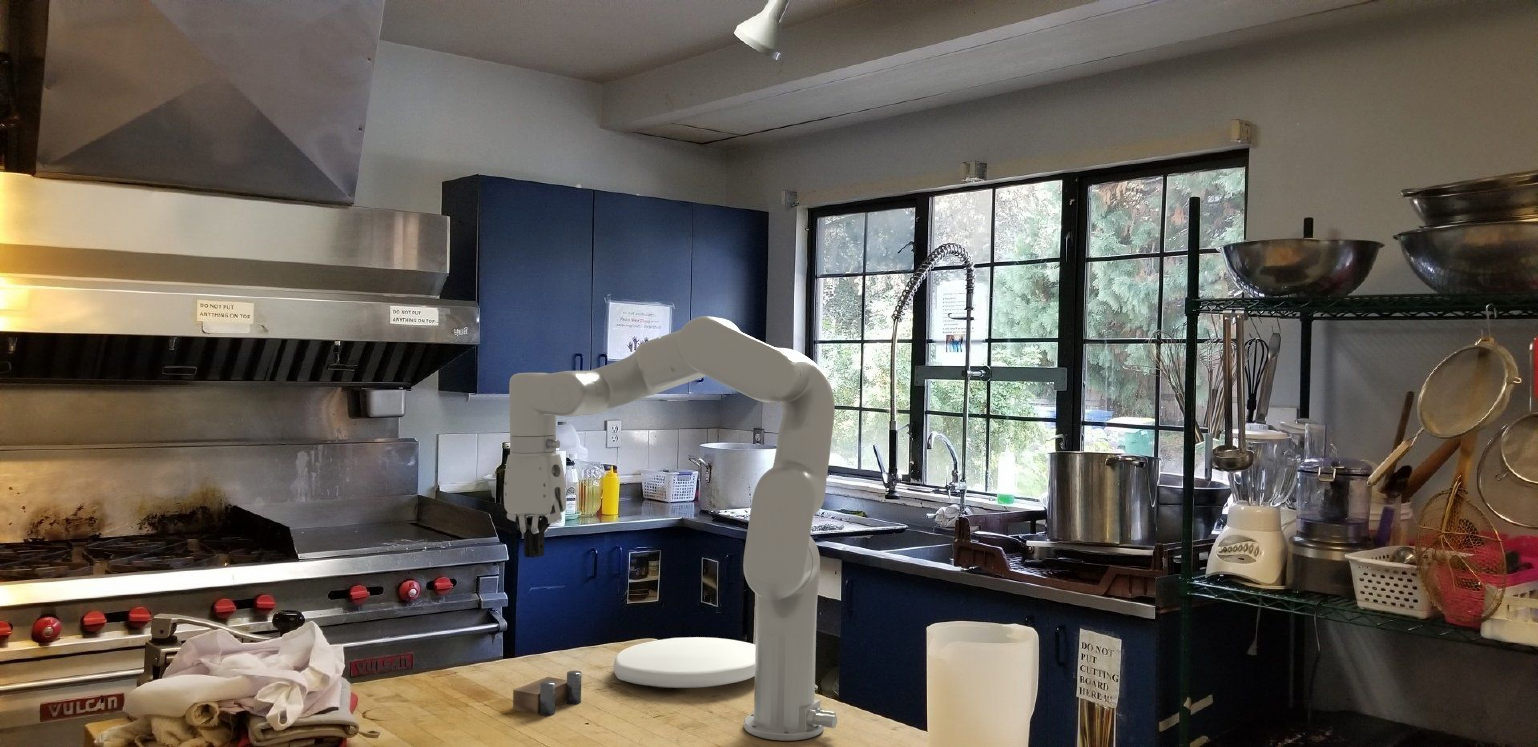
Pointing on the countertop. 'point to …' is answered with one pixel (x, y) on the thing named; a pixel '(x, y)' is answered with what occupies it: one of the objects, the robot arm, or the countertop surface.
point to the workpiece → (537, 695)
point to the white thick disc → (686, 662)
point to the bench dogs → (549, 693)
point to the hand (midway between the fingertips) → (534, 556)
